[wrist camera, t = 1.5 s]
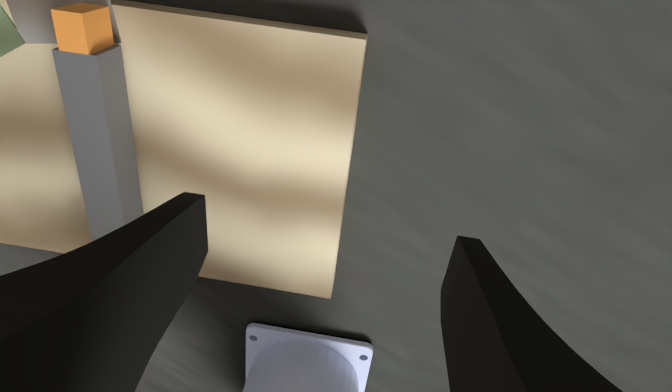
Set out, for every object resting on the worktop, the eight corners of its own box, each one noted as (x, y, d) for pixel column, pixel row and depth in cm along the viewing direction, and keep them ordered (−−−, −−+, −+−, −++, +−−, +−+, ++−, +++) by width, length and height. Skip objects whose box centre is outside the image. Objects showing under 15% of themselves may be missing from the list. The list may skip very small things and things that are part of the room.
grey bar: (168, 286, 26) (145, 322, 24) (107, 276, 26) (78, 310, 24) (137, 10, 18) (99, 22, 16) (51, -2, 18) (1, 8, 16)
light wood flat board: (333, 284, 26) (330, 301, 25) (-46, 220, 28) (-66, 233, 26) (370, 11, 19) (368, 17, 17) (-157, -60, 20) (-193, -60, 19)
